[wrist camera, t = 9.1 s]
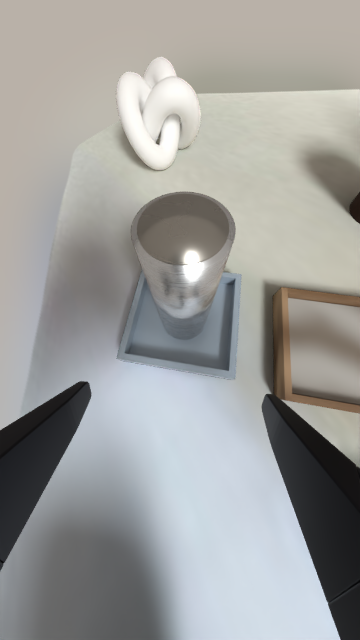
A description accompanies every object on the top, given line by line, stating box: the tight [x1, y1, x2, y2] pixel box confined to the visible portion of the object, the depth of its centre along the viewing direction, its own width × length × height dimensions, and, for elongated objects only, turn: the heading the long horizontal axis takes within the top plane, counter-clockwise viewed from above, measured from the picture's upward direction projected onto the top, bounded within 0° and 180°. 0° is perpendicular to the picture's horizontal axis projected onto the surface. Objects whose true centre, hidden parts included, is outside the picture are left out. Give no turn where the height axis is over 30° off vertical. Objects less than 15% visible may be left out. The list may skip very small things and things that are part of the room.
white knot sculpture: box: [116, 57, 201, 170], centre depth 26 cm, size 11×12×9 cm
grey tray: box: [116, 269, 241, 380], centre depth 19 cm, size 11×11×2 cm
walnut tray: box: [273, 287, 360, 413], centre depth 17 cm, size 11×11×2 cm
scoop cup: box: [131, 192, 235, 340], centre depth 14 cm, size 5×5×12 cm
